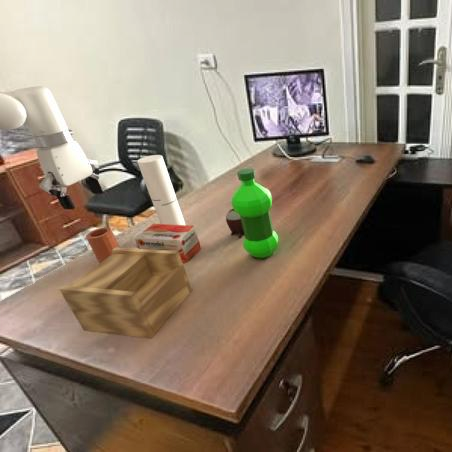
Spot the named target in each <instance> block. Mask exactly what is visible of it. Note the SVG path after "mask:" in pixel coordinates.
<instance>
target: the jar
mask: <svg viewBox="0 0 452 452" xmlns="http://www.w3.org/2000/svg"><path fill="white" fill-rule="evenodd" d="M85 238H86V240H87V242H88V245H89V246H90V248H91V250H92V252H93V254H94V256H95V258H96V260H97V262H98V264H100V263H101V262H103V261H104V260H105V259H107V258H108V257H109V256H111V255H112V254H113V252H112V249H114V248H121V247H120V245H119V243H118V241H117V239H116V235H114V232H113V230H112V228H111V227H107V226H105V227H99V228H96V229H93V230H91V231H89V232H88V233H87V234H86V235H85Z"/></svg>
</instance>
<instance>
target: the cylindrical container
mask: <svg viewBox="0 0 452 452" xmlns="http://www.w3.org/2000/svg"><path fill="white" fill-rule="evenodd" d="M136 163H137V165H138V168H139V170H140V173H141V177H142V178H143V180H144V184H145V186H146V189H147V192H148V194H149V197H150V200H151V202H152V205H153V208H154V210H155V213H156V215H157V218H158V221H159V224H166V225H186V222H185V220H184V216H183V214H182V211H181V207H180V205H179V201H178V198H177V196H176V193H175V189H174V187H173V183H172V181H171V177H170V174H169V172H168V168H167V166H166V162H165V160H164V157H163V155H161V154H154V155H153V154H152V155H148V156H143V157H141V158H139V159H137V161H136Z"/></svg>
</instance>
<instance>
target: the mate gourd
mask: <svg viewBox="0 0 452 452" xmlns="http://www.w3.org/2000/svg"><path fill="white" fill-rule="evenodd" d="M225 221H226V222H225V223H226V225H227V226H228V229H229V230H230V234H231V235H232V236H234V235H238V239H241V238H242V237H243V234H244V230H243V226H242V222H241V218H240V215H239V214H238V213H236V212H235V211H234V209H233V208H230V209H229V210H228V211H227V213H226V215H225Z"/></svg>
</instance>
